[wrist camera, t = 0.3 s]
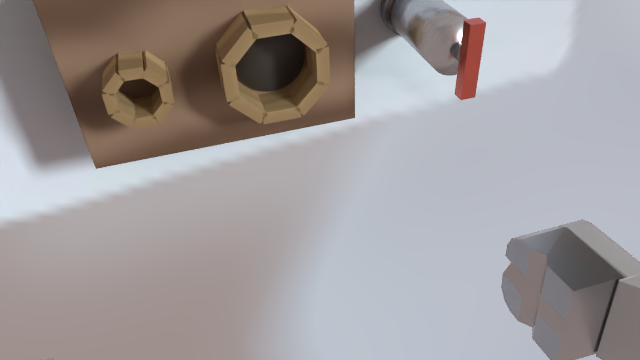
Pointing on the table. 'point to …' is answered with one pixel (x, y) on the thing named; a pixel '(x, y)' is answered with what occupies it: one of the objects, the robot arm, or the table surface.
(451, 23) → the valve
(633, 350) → the robot arm
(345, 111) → the manifold block
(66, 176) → the table surface
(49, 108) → the table surface
